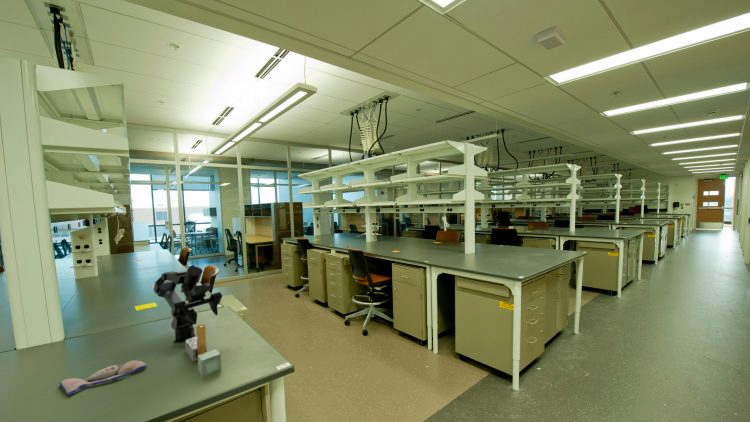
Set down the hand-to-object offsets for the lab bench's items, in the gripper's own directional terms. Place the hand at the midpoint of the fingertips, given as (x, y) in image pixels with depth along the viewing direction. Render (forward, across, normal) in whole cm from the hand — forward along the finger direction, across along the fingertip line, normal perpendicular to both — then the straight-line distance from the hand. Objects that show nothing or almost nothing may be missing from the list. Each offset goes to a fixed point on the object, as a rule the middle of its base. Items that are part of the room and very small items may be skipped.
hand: (205, 318), depth 118 cm
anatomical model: (-1, -29, +20) cm, 35 cm away
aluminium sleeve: (+7, -3, +13) cm, 15 cm away
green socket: (+22, -6, +2) cm, 23 cm away
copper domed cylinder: (+11, -4, +9) cm, 14 cm away
